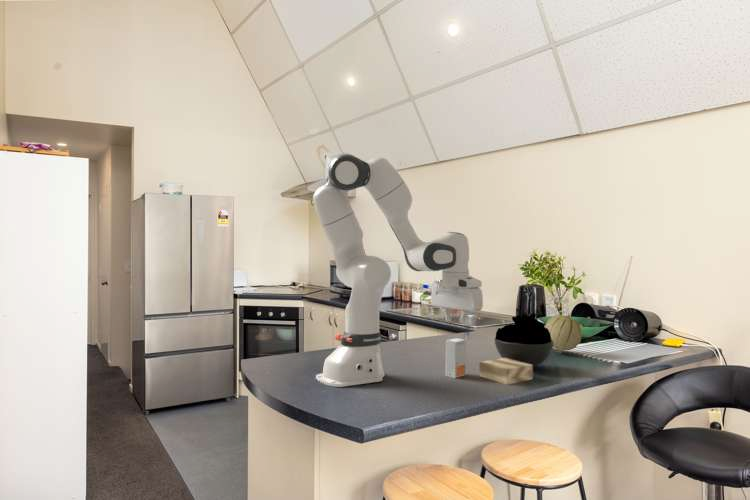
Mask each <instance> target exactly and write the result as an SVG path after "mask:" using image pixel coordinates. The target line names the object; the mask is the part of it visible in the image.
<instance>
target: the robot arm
mask: <svg viewBox="0 0 750 500" xmlns="http://www.w3.org/2000/svg"><path fill="white" fill-rule="evenodd" d="M326 172H327V175H326V176H327V178H326V183H324V185H322V186H320V187H319V188H317V189H316V190H315V192H314V194H313V196H312V201H313V204H314V205H313V206H314V210H315V212H316V216H317V218H318V220H319V223H320V225H321V227H322V229H323V232H324V234H325V236H326V237H327V240H328V242H329V244H330V248H331V250H332V253H333V256H334V262H335V267H336V269H335V273H336V277H337V279H338V280H339V281H340V282H341V283H342V284H343V285H345V286H346V287H347V288H351V293H350V297H349V301H348V303H347V304H346V307H345V308H344V309H345V316H344V317H345V321H344V322H345V326H344V327H345V328H344V329H345V331H344V332H343V334H339V333H335V335H334V340H335V341H339V342H340V345H338V347H337V348H336V349H334V350H333V351H332V353H330V354H329V355H328V356H326V357H325V359H324V363H323V366H322V367H323V369H322V373H317V374H315V380H316V379H317V380H318V381H317V380H316V381H317V382H319V381H320V382H319V383H321V382H322V383H321V384H323V383H324V384H323V385H326V386H330V387H334V388H344V387H350V386H357V385H363V384H371V383H378V382H382V381H383V378H384V377H385V372H384V368H383V367H384V366H383V362H382V358H381V357H382V355H381V349H380V348H381V342H382V339H381V338H382V336H381V335H382V334H381V333H382V332H381V331H380V311H381V302H382V298H383V295H384V290H385V288H386V287H387V285H388V284H389V282H390V281H391V277H392V271H391V267H390V266H389V264H388V262H386V261H385V260H384V259H382V258H380V257H378V256H376V255H367V253H366V252H365V248H364V243H363V242H364V241H363V237H364V232H363V230H362V227H361V226H360V223H359V221H358V218H357V217H356V215H355V211H354V210H353V207H352V206H351V204H350V201H349V196H348V195H349V191H353V190H355V189H358V188H361V187H362V188H365V189H366V190H367V191H368V192H369V194H370V195H371V196H372V198H373V200H374V201H375V203H376V204H377V206H378V208H379V209H380V211H381V212H382V213H383V215H384V217H385V218H386V221H387V222H388V224H389V226H390V228H391V230H392V231H393V234H394V235H395V237H396V239H397V241H398V242H399V243H400V246H401V248H402V250H403V254H404V259H405V262H406V264H407V265H408V267H409V268H410V269H411V270H413V271H414V272H439V271H442V274H441V275H442V276H441V277H442V279H436V280H434V281H433V282H432V289H431V293H430V304H431V306H432V307H439V308H442V311H443V313H444V316H445V321H446V322H453V315H452V314H451V313H450V311H451V309H453V310H454V309H455V310H460V314H461V315H460V317H458V321H457V322H458V324H465V323H466V318H467V316H468V314H469V311H470V312H480V311H481V310H482V309H483V304H484V303H483V302H484V301H483V291H482V289H481V288H482V286H483V285H482V284H483V283H482V280H480V279H478V278H475V277H473V276H472V275H470V271H469V269H470V268H469V261H470V246H469V240H468V237H467V235H465V234H464V233H461V232H453V231H447V232H445V233H444V234H442V235H441V236H440V237H439V238H436V239H434V240H431V241H428V242H425V241H423V240H421V239H420V238H419V237H418V235H417V233H416V231H415V229H414V228H413V226H412V224H411V222H410V220H409V217H408V214H409V211H410V209H411V207H412V203H413V197H412V193H411V191H410V189H409V186H408V185H407V184H406V182H405V181H404V179H403V177H402V176H401V175H400V174H399V172H398V171H397V169H396V168H395V167H394V166H393V165H392V164H391V163H390V162H389V160H388V159H386V158H384V157H380V156H378V157H374V158H371V159H370V160H368V161H364V160H363V159H361V158H360V157H359V158H358V157H357V156H355V155H354V154H352V153H351V154H350V153H346V152H345V153H340V154H337V155H335V156H333V157H332V158H331V160H330V161H329V163H328V165H327V171H326Z"/></svg>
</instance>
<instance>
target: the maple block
mask: <svg viewBox="0 0 750 500" xmlns="http://www.w3.org/2000/svg"><path fill="white" fill-rule="evenodd" d="M478 364H479V377H481V378H484V379H488V380H490V381H495V382H497V383H500V384H504V385H512V384H516V383H521V382H525V381H530V380H533V379H534V367H533V365H532V364H528V363H524V362H520V361H516V360H512V359H508V358H502V357H501V358H496V359H495V358H494V359H490V360H484V361H483V360H482V361H480V362H479V363H478Z"/></svg>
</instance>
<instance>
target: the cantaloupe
mask: <svg viewBox="0 0 750 500" xmlns="http://www.w3.org/2000/svg"><path fill="white" fill-rule="evenodd" d="M544 327H545V328H547V329H548V330H549V332H550V334H551V340H553V347H552V348H553V349H555V350H557V351H571V350H573V349H575V348H577V347H578V345H579V344H580V343H581V340H582V335H583V334H582V333H583V331H582V328H581V325H580V324H579V322H578V321H577V320H576V319H574V318H573V317H571V314H570V313H568V314H567V315H564V314H557V315H554V316H552V317H551V318H549V320H547V322H546V323H545V325H544Z"/></svg>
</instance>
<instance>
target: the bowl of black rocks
mask: <svg viewBox="0 0 750 500" xmlns="http://www.w3.org/2000/svg"><path fill="white" fill-rule="evenodd" d="M536 316H537V313H534V312H533V313H532V314H529V315H528V316H527V315H526V316H525V315H522V316H521V315H516V316H512V317H511V320H512V322H513V323H510V324H509V323H508V324H505V325H504V326H502V327H498V328H497V329H496V333H495V337H494V344H495V348H496V350H497V352H498V354H499V356H500V357H501V358H508V359H512V360H516V361H520V362H524V363H528V364H532V365H533V368H534V367H537V366H540V365H541V364H543V363H544V362H545V361H546V360H547V359H548V358H549V356H550V355H551V353H552V351H553V348H554V347H553V340H551V334H550V332H549V330H548V329H547V328H545V325H544V323H543V322H541V321H539V320H537V319H536Z"/></svg>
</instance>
